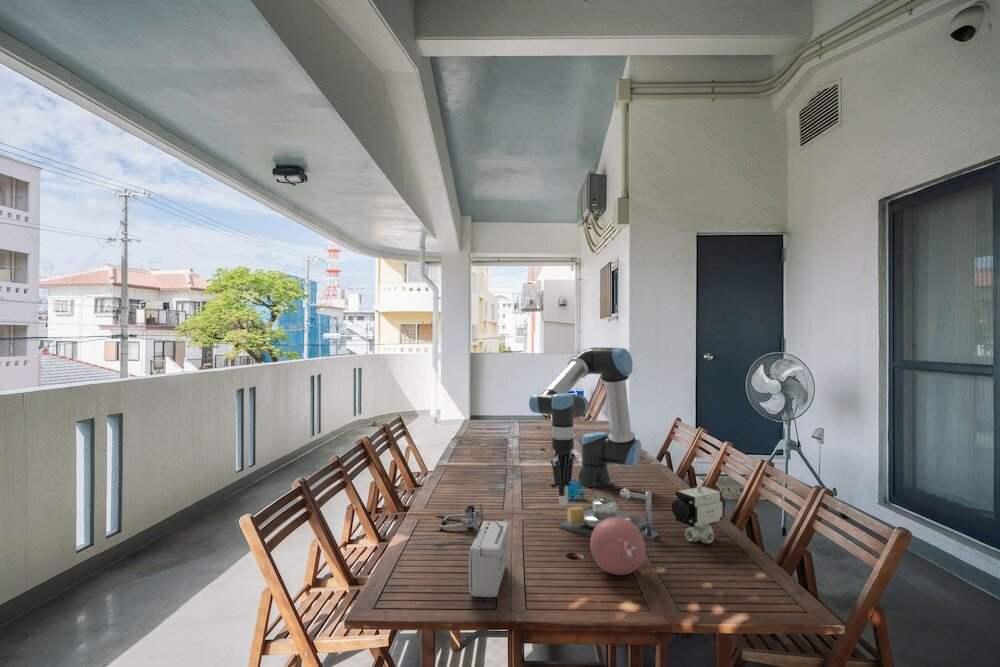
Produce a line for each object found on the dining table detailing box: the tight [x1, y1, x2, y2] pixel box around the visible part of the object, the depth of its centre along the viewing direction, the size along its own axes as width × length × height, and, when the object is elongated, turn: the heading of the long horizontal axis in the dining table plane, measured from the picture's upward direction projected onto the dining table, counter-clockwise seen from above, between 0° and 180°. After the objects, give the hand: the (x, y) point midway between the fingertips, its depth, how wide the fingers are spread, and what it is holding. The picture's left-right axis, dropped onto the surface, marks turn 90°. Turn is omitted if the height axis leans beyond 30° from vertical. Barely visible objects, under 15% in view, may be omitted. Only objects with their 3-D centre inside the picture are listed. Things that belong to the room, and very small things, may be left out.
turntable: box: [566, 505, 631, 529], centre depth 180 cm, size 18×23×6 cm
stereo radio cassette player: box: [468, 519, 510, 598], centre depth 140 cm, size 21×8×20 cm, turn 172°
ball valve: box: [671, 485, 726, 544], centre depth 168 cm, size 18×8×18 cm, turn 117°
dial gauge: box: [619, 488, 659, 541], centre depth 174 cm, size 5×12×15 cm, turn 53°
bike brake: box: [436, 502, 486, 531], centre depth 182 cm, size 14×7×20 cm
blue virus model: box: [568, 477, 587, 502], centre depth 213 cm, size 11×6×10 cm
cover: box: [592, 497, 617, 520], centre depth 181 cm, size 8×8×6 cm
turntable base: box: [558, 506, 646, 537], centre depth 181 cm, size 24×24×1 cm
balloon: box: [589, 517, 646, 576], centre depth 143 cm, size 15×20×15 cm
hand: (563, 503), depth 180 cm, fingers closed
